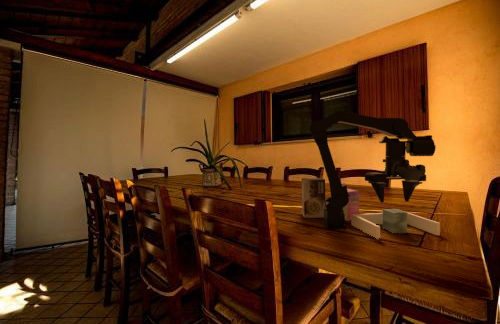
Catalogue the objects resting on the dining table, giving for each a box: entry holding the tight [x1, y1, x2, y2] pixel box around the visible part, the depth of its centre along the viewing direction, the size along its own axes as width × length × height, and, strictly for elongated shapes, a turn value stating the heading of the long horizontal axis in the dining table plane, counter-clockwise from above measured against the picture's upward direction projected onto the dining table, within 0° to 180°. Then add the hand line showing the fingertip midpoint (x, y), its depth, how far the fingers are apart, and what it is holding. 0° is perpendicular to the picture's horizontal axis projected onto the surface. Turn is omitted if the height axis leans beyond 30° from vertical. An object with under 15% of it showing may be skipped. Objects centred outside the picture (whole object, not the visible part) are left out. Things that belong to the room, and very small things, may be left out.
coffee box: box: [301, 177, 326, 219], centre depth 96 cm, size 9×6×16 cm
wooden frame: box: [350, 211, 441, 240], centre depth 78 cm, size 22×14×4 cm, turn 97°
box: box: [343, 188, 360, 222], centre depth 94 cm, size 10×6×12 cm, turn 17°
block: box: [382, 208, 408, 234], centre depth 77 cm, size 5×5×7 cm
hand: (394, 202), depth 77 cm, fingers open, 9 cm apart
